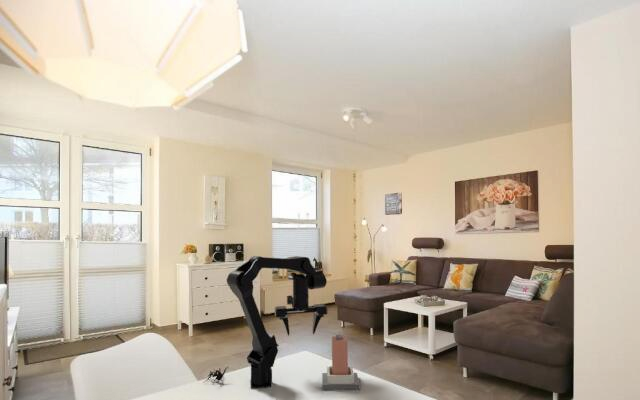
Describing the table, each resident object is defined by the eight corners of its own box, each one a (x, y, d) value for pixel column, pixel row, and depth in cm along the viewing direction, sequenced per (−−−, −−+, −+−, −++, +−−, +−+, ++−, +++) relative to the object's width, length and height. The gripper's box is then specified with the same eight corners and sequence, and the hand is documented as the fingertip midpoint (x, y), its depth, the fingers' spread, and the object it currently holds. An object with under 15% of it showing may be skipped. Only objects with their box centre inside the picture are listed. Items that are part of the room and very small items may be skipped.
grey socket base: (322, 389, 122) (322, 376, 122) (322, 377, 132) (322, 365, 132) (359, 389, 122) (359, 376, 122) (356, 377, 132) (356, 365, 132)
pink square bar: (332, 381, 125) (332, 337, 126) (332, 375, 130) (331, 333, 131) (348, 381, 125) (347, 337, 126) (347, 375, 130) (346, 333, 131)
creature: (199, 385, 130) (212, 385, 125) (197, 368, 131) (210, 368, 126) (218, 378, 136) (232, 378, 131) (217, 362, 137) (230, 362, 132)
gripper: (321, 286, 150) (321, 327, 149) (273, 288, 146) (273, 330, 145) (327, 291, 139) (327, 335, 138) (276, 293, 135) (276, 338, 134)
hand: (301, 334), depth 139 cm, fingers open, 9 cm apart
